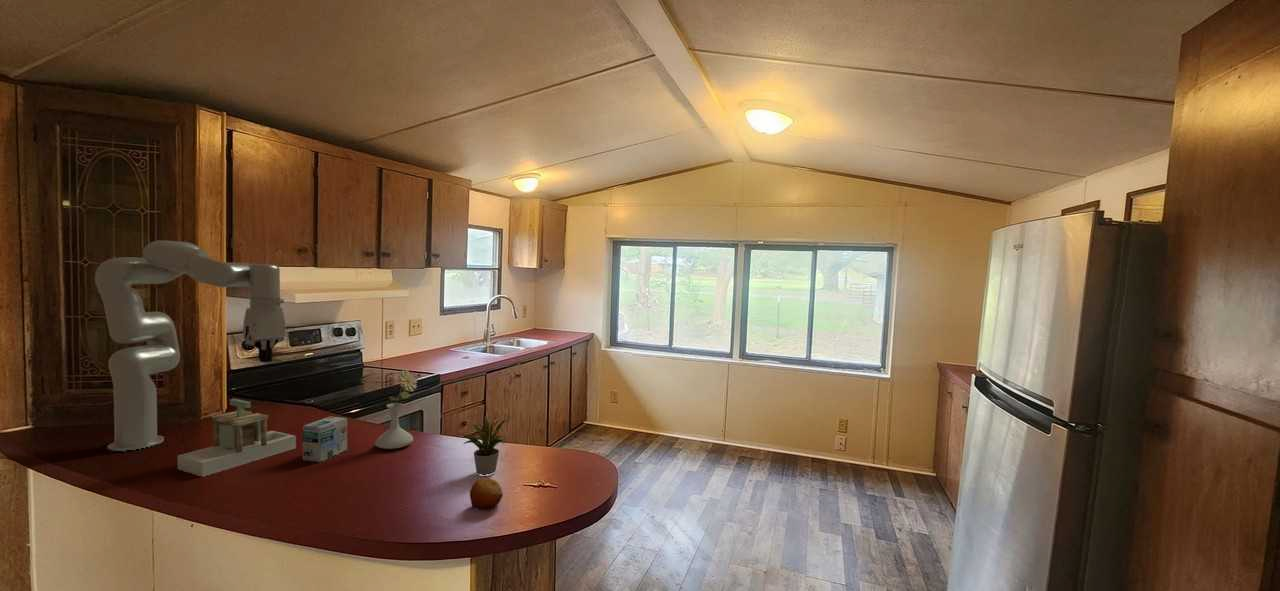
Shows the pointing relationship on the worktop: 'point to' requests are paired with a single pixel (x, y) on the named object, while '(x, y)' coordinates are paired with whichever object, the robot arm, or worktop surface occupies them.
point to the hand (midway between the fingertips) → (265, 361)
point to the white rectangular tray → (234, 455)
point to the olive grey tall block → (229, 431)
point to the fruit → (485, 494)
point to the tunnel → (239, 426)
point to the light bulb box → (324, 438)
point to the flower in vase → (395, 434)
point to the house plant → (486, 447)
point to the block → (247, 436)
